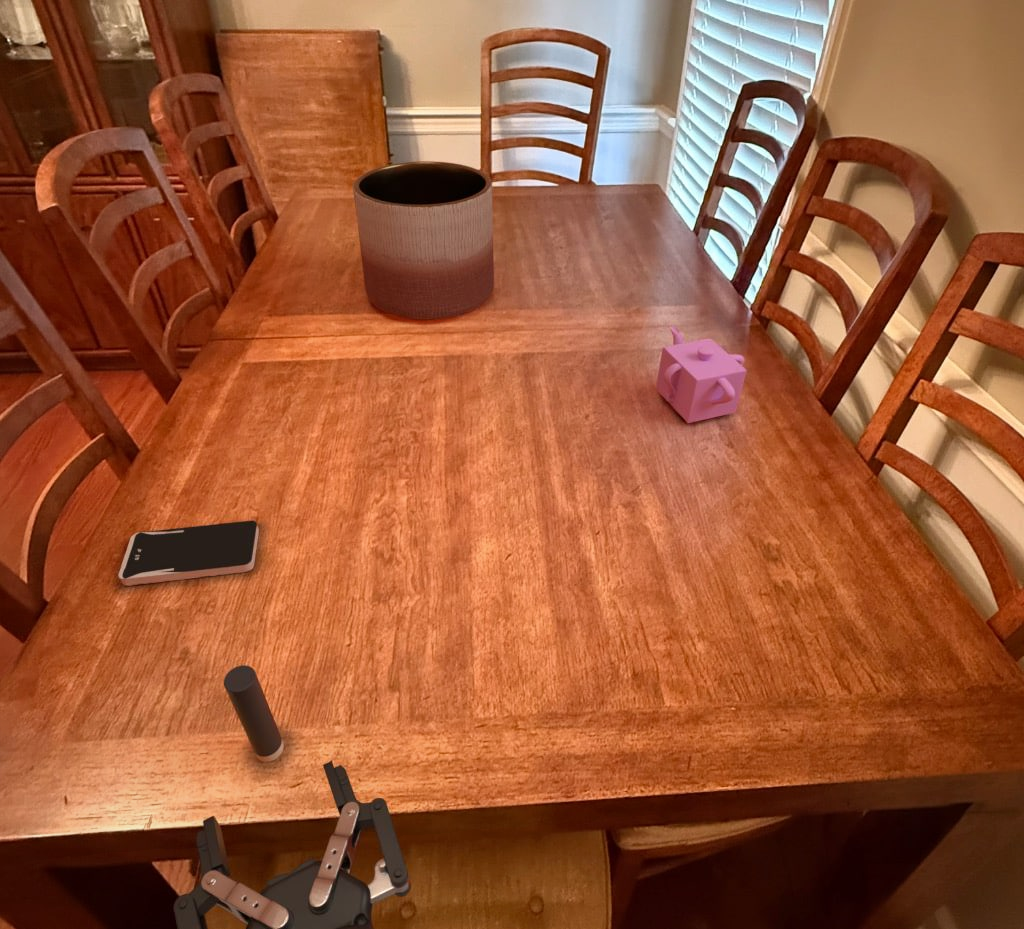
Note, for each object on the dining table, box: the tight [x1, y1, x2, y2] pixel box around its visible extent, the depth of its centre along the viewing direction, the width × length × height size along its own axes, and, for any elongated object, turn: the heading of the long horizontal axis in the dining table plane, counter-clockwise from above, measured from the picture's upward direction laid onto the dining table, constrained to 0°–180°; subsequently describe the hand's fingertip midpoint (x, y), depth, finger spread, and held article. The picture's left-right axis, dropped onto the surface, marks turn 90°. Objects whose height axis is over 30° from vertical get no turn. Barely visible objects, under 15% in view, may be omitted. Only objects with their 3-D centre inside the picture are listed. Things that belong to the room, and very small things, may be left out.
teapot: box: [655, 326, 748, 424], centre depth 108 cm, size 18×14×10 cm
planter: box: [352, 160, 495, 321], centre depth 132 cm, size 25×25×22 cm
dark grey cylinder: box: [223, 665, 285, 763], centre depth 62 cm, size 3×3×12 cm
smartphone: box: [117, 520, 260, 587], centre depth 85 cm, size 8×1×15 cm
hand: (271, 794), depth 51 cm, fingers open, 8 cm apart
